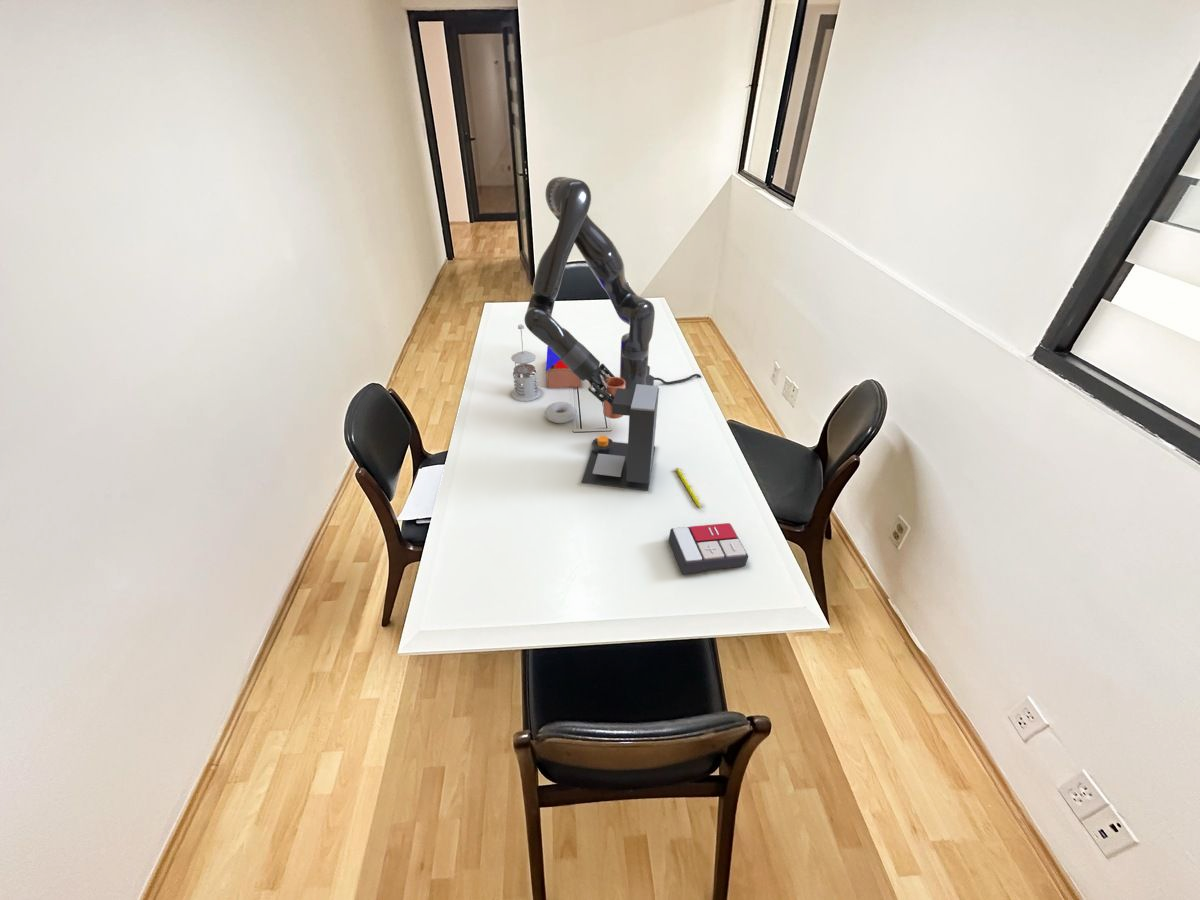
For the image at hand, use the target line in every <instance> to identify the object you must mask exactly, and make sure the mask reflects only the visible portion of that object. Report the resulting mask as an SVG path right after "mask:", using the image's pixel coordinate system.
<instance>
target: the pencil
mask: <svg viewBox="0 0 1200 900" xmlns="http://www.w3.org/2000/svg"><path fill="white" fill-rule="evenodd" d="M675 471H676V473H677V474H678V476H679V478H680V481H682V483H683V485H684V486H685V488H686V490H687V492H688V493H689V495H690V496H691V498H692V501H694V503H695V505H696V506H697V507H699V509H702V506H701V502H700V500H699V498H698V497H697V496H696V494H695V492H694V491H693V489H692V488H691V486H690V484H689V483H688V481H687V479H686V478H685V476H684V474H683V472H682V471H681V469H680V468H679V467H676V468H675Z"/></svg>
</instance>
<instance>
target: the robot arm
mask: <svg viewBox="0 0 1200 900" xmlns="http://www.w3.org/2000/svg"><path fill="white" fill-rule="evenodd" d="M545 188H546V189H545V201H546V204H547V207H548V209H549V210H550V211H551V213H552V215H553V216H554V217H555V218H556V219H557V220H558V224H557V228H556V231H555V233H554V235H553V238H552V239H551V241H550V243H549V244H548V246H547V248H546V249H545V251H544V252H543V253H542V255H541V257H540V259H539V263H538V265H537V268H536V272H535V276H534V279H533V285H532V292H531V295H530V299H529V303H528V306H527V309H526V312H525V315H524V320H523V321H524V325H525V327H526V328H527V329H528V331H529V332H530V333H531V334H532V335H533V336H535V337H536V338H537V339H538V340H540V341H541V342H543V344H545V345H547V346H549V347H550V349H551V350H552V351H553V352H554V353H555V354H556V355H557V356H558V357H559V358H560V359H561V360H562V361H563V362H564V364H565V365H566V366H567V367H568V368H569V369H570V370H571V371H572V372H573V373H574V374H575V375H576V376H577V377H578V378H579V379H580V381H587V382H588V383H589V385H590V386H589V387H588V388H587V390H588V391H589V392H590V393H591V394H592V395H593V396H594V397H595V398H596V399H598V401H600V403H603V402H604V401H607V402H608V403H609V404H611V405H612V403H613V400H614V396H613V395H611V393H610V392H609V390H608V387H607V384H606V382H607V381H608V380H607V381H606V378H610V377H616V376H615V375H614V374H613V373H612V372H611V370H610V369H608V367H607V366H606V365H605V364H604V363H601V361H600V360H599V359H598V358H597V357H596V356H594V354H593V353H592V352H591V351H590V350H588V349H589V348H587V347H586V346H585V345H584V344H582V343H581V342H580V341H579V340H578V339H577V338H576V337H575V336H573V334H572V333H571V332H570V331H569V330H567V329H566V328H564V327H562V325H560V324H559V323H558V322H557V320H555V319H554V318H553V316H552V315H553V310H554V307H555V303H556V302H555V301H556V299H557V296H558V294H559V291H560V287H561V284H562V280H563V277H564V272H565V269H566V266H567V263H568V260H569V257H570V254H571V253H572V250H573V247H574V246H576V247H577V249H578V251H579V253H580V254H581V256H582V257H583V259H584V261H585V262H586V264H587V266H588V267H589V269H590V271H591V272H592V274H593V276H594V277H595V278H596V280H597V281H598V283H599V285H601V287H602V288H603V289H604V291H605V292H606V294H607V296H608V299H610V302H611V304H612V306H613V308H614V311H615V312H616V314H617V316H618V318H619V319H620V320H621V321H622V322H623V323H625V324H627V325H629V331H628V332H627V333H625V334H623V335H622V336H621V338H620V339H621V340H620V358H619V359H620V360H619V378H622V379H624V380H625V382H626V388H625V389H634V390H635V387H636V384H640V385H651V386H655V385H654V384H655V381H659V382H661V383H663V385H664V384H665V385H673V384H678V383H682V382H686V381H689V380H691V379H693V378H694V377H697V378H702V375H701V374H699V373H694V374H691V375H690V376H688V377H685V378H682V379H678V380H672V381H666V380H664V378H661V377H655V376H653V375H651V373H650V371H651V367H650V365H649V354H650V353H649V352H650V342H651V340H652V338H653V332H654V325H655V318H656V317H655V316H656V314H655V312H656V311H655V306H654V304H653V303H652V302H651V301H650V300H648V299H646V298H644V297H642V296H640V295H638V294H637V293H635V291H634V290H633V288H632V287H631V286H630V284H629V283H628V281H627V279H626V276H625V263H624V260H623V257H622V255H621V254H620V252H619V251H618V249H617V247H616V245H615V244H614V242H613V240H611V239H610V237H609V236H608V235H607V234H606V232H604V231H603V230H602V229H601V227H599V226H598V225H597V224H596V223H595V222H594V221H593V219H591V217H590V216H589V215H588V213H589V210H590V207H591V204H592V192H591V189H590V187H589V186H588V184H587V183H586V182H585V181H583V180H582V179H577V178H574V177H568V176H557V177H553V178H552V179H551V180H549V181H548V183H547V184H546V187H545ZM603 387H604V388H603ZM604 391H605V392H606V393H607V394H606V393H605V392H604Z"/></svg>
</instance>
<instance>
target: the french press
mask: <svg viewBox="0 0 1200 900" xmlns="http://www.w3.org/2000/svg"><path fill="white" fill-rule="evenodd" d="M517 329H518V330H520V337H521V340H523V331H522V330H523V329H525V326H524V324H518V325H517ZM521 349H522V350H521V351H518V352H516V353H514V354H512V355H511V356H510V360H511V361H512V362H514V368H513V372H512V376H513V387H514V390H513V392H512V395H511V396H512V398H513V399H514V400H516V401H520V402H532V401H535V400H537V399H538V398H540V397H541V395H542V393H541V390H539V389H538V374H537V373H538V372H537V370H536V366H535V365H533V364H531V363H533V362H534V361H536V358H537V356H536V355H535V354H534V353H533V352H531V351H526V350H524V341H521ZM521 375H522V377H521Z"/></svg>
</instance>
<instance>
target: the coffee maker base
mask: <svg viewBox="0 0 1200 900" xmlns="http://www.w3.org/2000/svg"><path fill="white" fill-rule="evenodd" d="M597 438H598V437H596V438H594V439H593V440H592V443H591V452H590V454H589V458H588V461H587V463H586V466H585V469H584V472H583V476H582V478H581V484H587V485H594V486H603V487H604V486H605V487H612V488H618V489H628V490H636V491H645V492H649V489H650V483H651V479H650V480H649V484H646V483H637V482H629V481H626V475H627V454H628V442H618V441H617V442H616V441H613V439H611V438H610V437H608V446H606V447H600V446H598V445H597ZM655 451H656V446H655V445H654V454H653V459H654V458H655ZM598 453H599V454H608V455H617V456H625V460H624V464H623V469H622V473H621V477H616V476H608V475H599V474H592V473H593V470H594V466H595V463H596V460H597V457H598ZM653 463H654V460H653V461H652V466H653ZM652 470H653V467H652V468H651V472H652ZM651 476H652V473H651V474H650V478H652V477H651Z"/></svg>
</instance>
